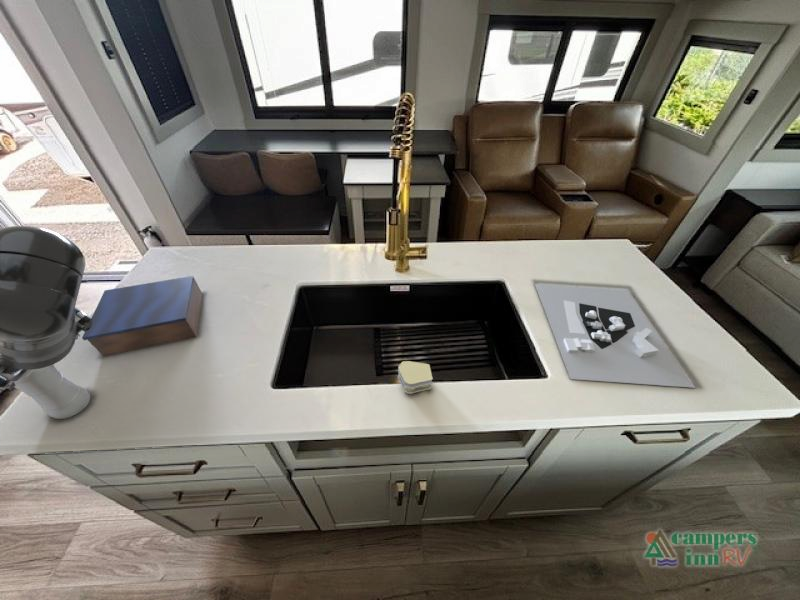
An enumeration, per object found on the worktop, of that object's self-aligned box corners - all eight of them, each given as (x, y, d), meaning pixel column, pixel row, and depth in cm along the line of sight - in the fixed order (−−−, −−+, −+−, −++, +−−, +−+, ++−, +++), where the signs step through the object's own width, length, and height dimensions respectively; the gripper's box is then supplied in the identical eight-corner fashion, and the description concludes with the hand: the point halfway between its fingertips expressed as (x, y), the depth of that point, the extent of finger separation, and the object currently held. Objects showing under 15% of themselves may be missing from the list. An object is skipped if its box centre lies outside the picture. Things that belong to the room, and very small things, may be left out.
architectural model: (534, 284, 102) (536, 278, 100) (627, 290, 101) (630, 284, 99) (569, 379, 76) (573, 374, 74) (694, 388, 75) (701, 383, 74)
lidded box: (105, 358, 77) (87, 339, 72) (124, 311, 88) (109, 292, 83) (198, 339, 82) (186, 320, 77) (204, 296, 93) (194, 278, 89)
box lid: (84, 340, 72) (81, 338, 71) (106, 292, 83) (104, 290, 83) (186, 320, 77) (185, 317, 76) (194, 278, 89) (193, 275, 88)
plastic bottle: (59, 401, 68) (-22, 339, 55) (98, 389, 71) (30, 327, 57) (50, 428, 64) (-40, 368, 51) (92, 415, 66) (16, 354, 53)
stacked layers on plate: (431, 367, 77) (433, 353, 74) (439, 401, 71) (442, 387, 67) (389, 371, 76) (389, 356, 73) (393, 405, 70) (394, 392, 66)
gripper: (63, 278, 45) (61, 315, 55) (-77, 357, 35) (-48, 384, 45) (114, 315, 47) (103, 344, 57) (-3, 398, 37) (9, 415, 47)
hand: (37, 362), depth 51 cm, fingers open, 8 cm apart
